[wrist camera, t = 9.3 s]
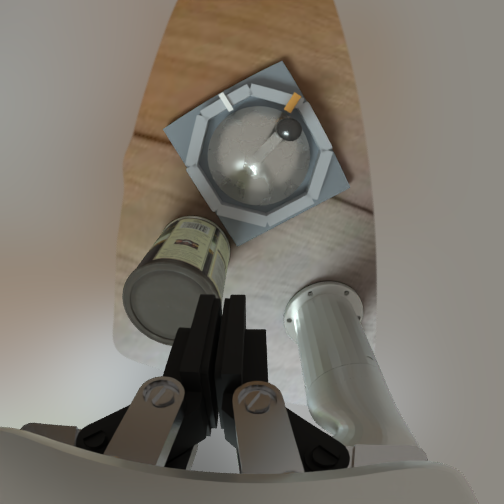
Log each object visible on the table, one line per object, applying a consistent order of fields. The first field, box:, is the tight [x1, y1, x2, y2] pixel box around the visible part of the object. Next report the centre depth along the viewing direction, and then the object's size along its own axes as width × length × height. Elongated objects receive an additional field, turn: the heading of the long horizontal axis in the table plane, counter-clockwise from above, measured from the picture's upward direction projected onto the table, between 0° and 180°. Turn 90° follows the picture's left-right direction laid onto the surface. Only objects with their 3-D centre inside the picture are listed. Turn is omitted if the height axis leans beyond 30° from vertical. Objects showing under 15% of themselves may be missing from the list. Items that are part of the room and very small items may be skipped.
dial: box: [208, 106, 310, 205], centre depth 33 cm, size 12×12×6 cm
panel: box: [163, 61, 350, 247], centre depth 35 cm, size 18×17×3 cm
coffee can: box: [123, 216, 230, 346], centre depth 36 cm, size 10×10×14 cm
